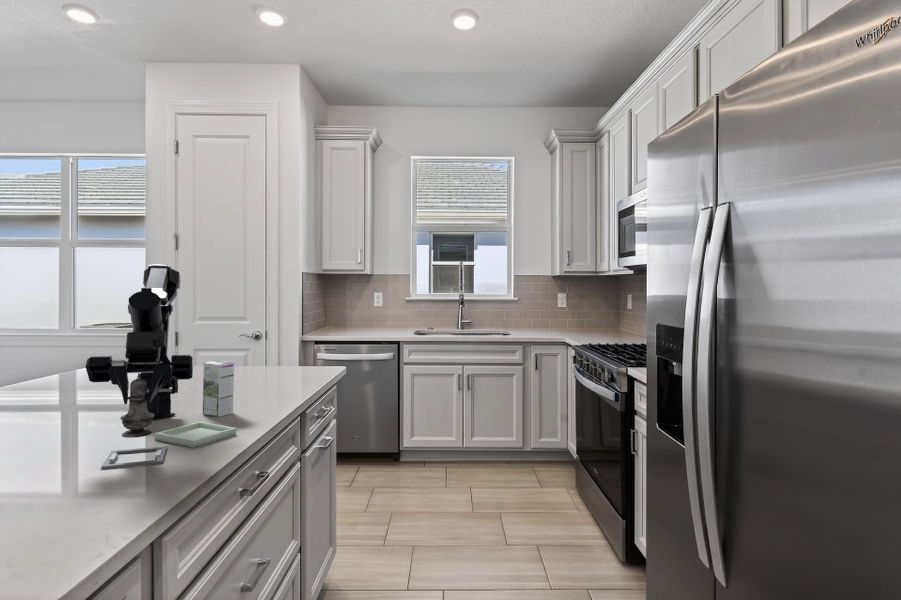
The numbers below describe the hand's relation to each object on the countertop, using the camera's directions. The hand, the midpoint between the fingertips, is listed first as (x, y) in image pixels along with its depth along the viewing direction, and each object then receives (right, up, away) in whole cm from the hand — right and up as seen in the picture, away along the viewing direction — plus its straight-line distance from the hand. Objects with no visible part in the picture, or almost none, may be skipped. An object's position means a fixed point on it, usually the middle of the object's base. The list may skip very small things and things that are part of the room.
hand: (137, 402), depth 99 cm
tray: (+3, -11, +17) cm, 21 cm away
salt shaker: (-1, -7, +1) cm, 7 cm away
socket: (-1, -11, +1) cm, 12 cm away
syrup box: (-2, -11, +38) cm, 40 cm away
